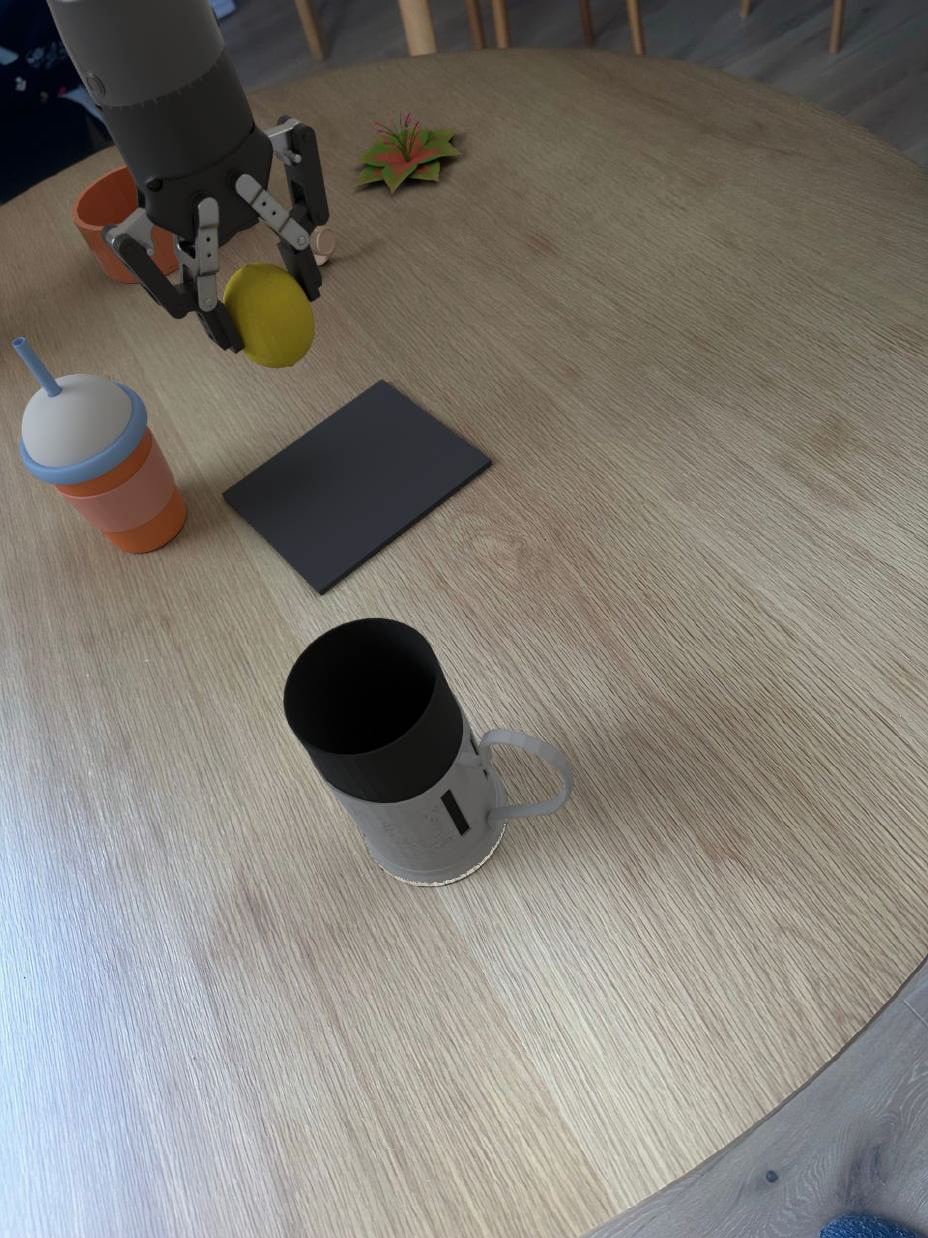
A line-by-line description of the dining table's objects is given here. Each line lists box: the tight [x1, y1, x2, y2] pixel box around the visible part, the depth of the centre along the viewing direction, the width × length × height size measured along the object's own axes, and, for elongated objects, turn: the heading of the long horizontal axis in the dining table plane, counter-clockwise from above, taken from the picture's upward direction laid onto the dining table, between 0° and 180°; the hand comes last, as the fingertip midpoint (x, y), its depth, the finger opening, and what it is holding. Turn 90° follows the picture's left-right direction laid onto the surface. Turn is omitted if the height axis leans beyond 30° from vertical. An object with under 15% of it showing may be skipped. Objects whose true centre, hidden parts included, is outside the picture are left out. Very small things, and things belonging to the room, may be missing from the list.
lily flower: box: [352, 110, 463, 194], centre depth 96 cm, size 12×12×5 cm
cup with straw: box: [11, 336, 187, 554], centre depth 69 cm, size 9×9×18 cm
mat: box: [221, 378, 493, 596], centre depth 74 cm, size 16×14×1 cm
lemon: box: [222, 261, 316, 370], centre depth 64 cm, size 6×6×8 cm
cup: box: [70, 163, 179, 284], centre depth 97 cm, size 11×11×6 cm
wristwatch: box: [313, 225, 337, 266], centre depth 90 cm, size 3×5×5 cm, turn 60°
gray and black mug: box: [282, 617, 575, 884], centre depth 51 cm, size 9×14×15 cm, turn 67°
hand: (271, 319), depth 64 cm, fingers closed on lemon, 5 cm apart
